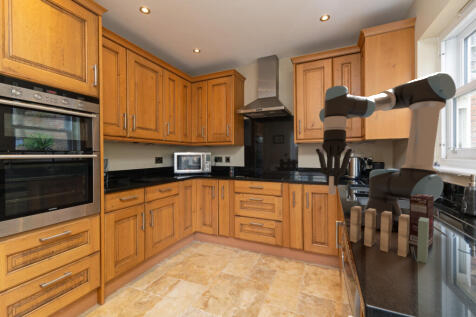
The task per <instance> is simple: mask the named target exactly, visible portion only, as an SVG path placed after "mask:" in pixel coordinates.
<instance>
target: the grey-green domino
mask: <svg viewBox="0 0 476 317" xmlns="http://www.w3.org/2000/svg"><path fill="white" fill-rule="evenodd" d="M428 236H429V218H423V217H420V219H419V220H418V245H417V255H416V256H417V257H416V261H417V262H421V263H424V264H427V262H428V258H429V246H428Z"/></svg>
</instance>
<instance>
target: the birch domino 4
mask: <svg viewBox="0 0 476 317" xmlns="http://www.w3.org/2000/svg"><path fill="white" fill-rule="evenodd" d="M409 218H410V215H409V214H405V213H402V214H401V215H400V216H399V221H398V232H397V237H398V239H397V256H400V257H403V258H407V256H408V254H409V249H410V248H409V245H410V243H409Z"/></svg>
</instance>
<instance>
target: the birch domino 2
mask: <svg viewBox="0 0 476 317" xmlns="http://www.w3.org/2000/svg"><path fill="white" fill-rule="evenodd" d="M375 228H376V209H371V208H369V209H367V210H365V227H364V238H363V239H364V240H363V242H364V243H363V244H364V245H363V246H367V247H370V248H371V247H372V246H374V244H376V229H375Z"/></svg>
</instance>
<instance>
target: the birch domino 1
mask: <svg viewBox="0 0 476 317" xmlns="http://www.w3.org/2000/svg"><path fill="white" fill-rule="evenodd" d="M361 211H363V210H362V206H359V205H354V206H352V207H350V217H351V218H350V226H349V227H350V228H349V242H353V243H357V242H358V241H360V240H361V237H362V234H361V233H362V226H361Z"/></svg>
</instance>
